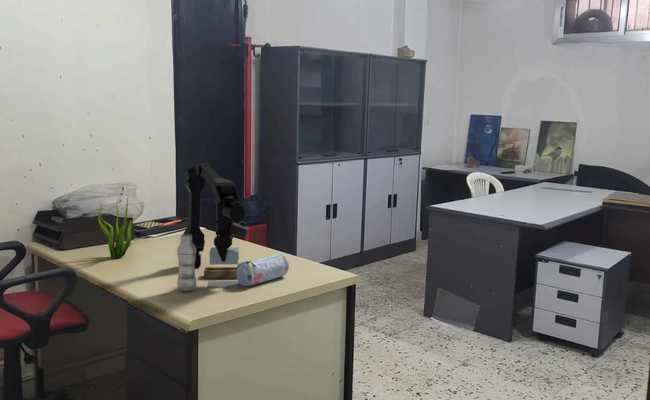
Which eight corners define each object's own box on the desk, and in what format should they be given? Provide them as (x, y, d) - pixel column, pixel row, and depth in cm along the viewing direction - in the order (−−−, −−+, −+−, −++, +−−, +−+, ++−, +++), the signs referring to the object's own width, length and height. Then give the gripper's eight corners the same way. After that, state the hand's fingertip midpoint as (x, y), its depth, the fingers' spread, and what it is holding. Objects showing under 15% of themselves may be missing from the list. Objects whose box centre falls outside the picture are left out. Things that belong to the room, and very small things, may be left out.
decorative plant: (84, 203, 240) (89, 187, 253) (110, 263, 255) (114, 244, 268) (129, 192, 242) (131, 176, 254) (153, 252, 257) (154, 233, 269)
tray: (204, 279, 228) (203, 270, 227) (205, 275, 233) (205, 267, 232) (246, 278, 230) (246, 270, 229) (247, 275, 234) (247, 267, 234)
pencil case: (249, 289, 216) (249, 263, 214) (233, 284, 221) (233, 258, 220) (290, 278, 231) (291, 254, 230) (274, 273, 237) (275, 250, 236)
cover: (209, 264, 216) (209, 252, 215) (211, 259, 222) (211, 247, 222) (238, 264, 217) (238, 252, 216) (238, 259, 224) (238, 247, 223)
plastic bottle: (178, 287, 216) (177, 233, 213) (197, 287, 217) (197, 233, 214) (175, 293, 210) (174, 237, 207) (195, 293, 211) (194, 237, 207)
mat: (206, 288, 216) (206, 287, 216) (208, 282, 224) (208, 281, 224) (240, 288, 218) (240, 287, 218) (241, 281, 225) (241, 281, 225)
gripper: (246, 222, 209) (246, 266, 211) (247, 212, 227) (247, 252, 229) (213, 221, 207) (213, 266, 210) (217, 211, 226) (217, 252, 228)
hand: (224, 259), depth 219 cm, fingers closed on cover, 7 cm apart
